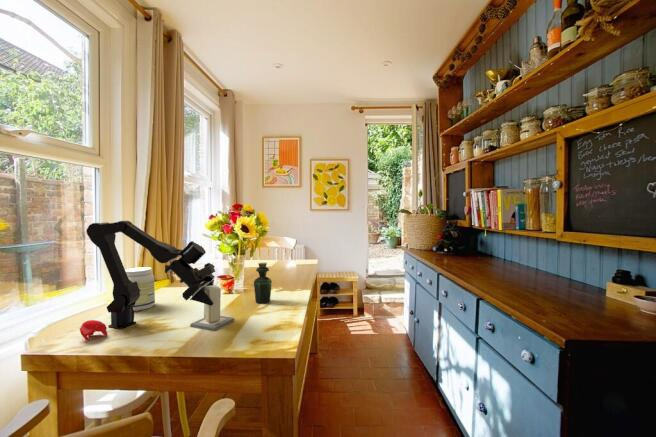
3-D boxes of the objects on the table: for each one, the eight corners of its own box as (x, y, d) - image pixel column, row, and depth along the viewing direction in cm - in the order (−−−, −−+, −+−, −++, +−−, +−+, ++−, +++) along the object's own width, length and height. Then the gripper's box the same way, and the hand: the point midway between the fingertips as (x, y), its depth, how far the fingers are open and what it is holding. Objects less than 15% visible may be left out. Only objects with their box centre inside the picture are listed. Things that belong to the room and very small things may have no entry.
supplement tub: (161, 303, 143) (160, 266, 142) (142, 312, 131) (141, 272, 130) (136, 302, 144) (135, 266, 143) (115, 311, 132) (114, 271, 131)
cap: (75, 334, 100) (94, 322, 102) (76, 323, 104) (94, 312, 106) (93, 348, 104) (111, 336, 106) (93, 336, 109) (110, 325, 111)
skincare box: (203, 318, 119) (203, 286, 118) (215, 315, 122) (215, 284, 121) (208, 322, 114) (208, 289, 114) (221, 320, 117) (221, 287, 116)
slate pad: (213, 330, 111) (213, 327, 111) (190, 326, 115) (190, 323, 115) (234, 320, 121) (234, 317, 121) (212, 316, 125) (211, 314, 125)
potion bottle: (251, 301, 146) (250, 263, 145) (267, 298, 150) (266, 261, 150) (258, 305, 139) (258, 265, 138) (274, 302, 144) (274, 263, 143)
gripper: (191, 261, 107) (224, 293, 108) (209, 253, 126) (237, 280, 127) (168, 284, 107) (201, 316, 108) (189, 273, 126) (217, 300, 127)
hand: (215, 301), depth 118 cm, fingers closed on skincare box, 7 cm apart
